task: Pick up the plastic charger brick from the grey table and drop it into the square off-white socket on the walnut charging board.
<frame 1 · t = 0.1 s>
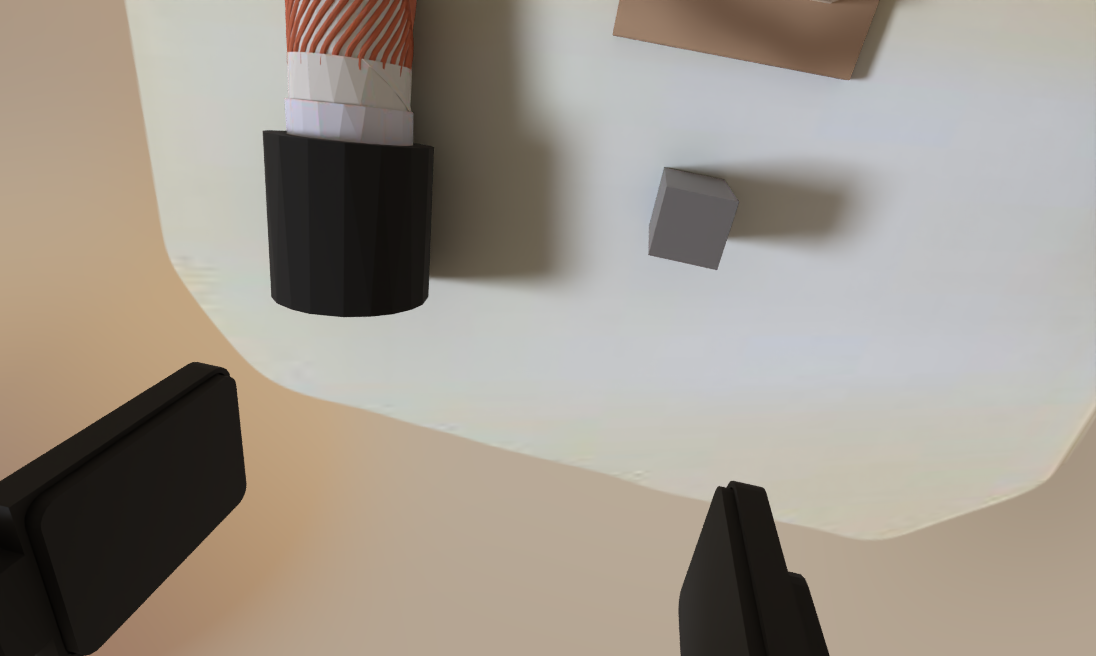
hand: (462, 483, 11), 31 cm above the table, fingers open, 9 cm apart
charger brick: (685, 203, 38), on the table
stepped striped telescope: (382, 26, 37), on the table
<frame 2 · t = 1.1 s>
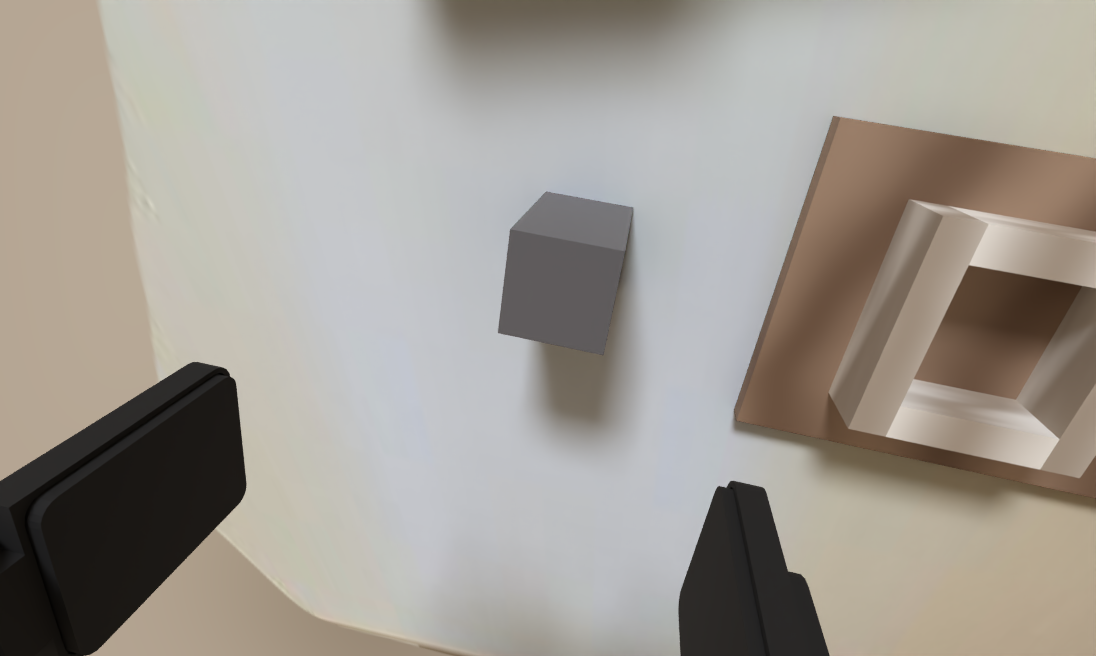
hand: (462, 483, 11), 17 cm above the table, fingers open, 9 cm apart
charger brick: (581, 242, 27), on the table
charging board: (1012, 324, 25), on the table
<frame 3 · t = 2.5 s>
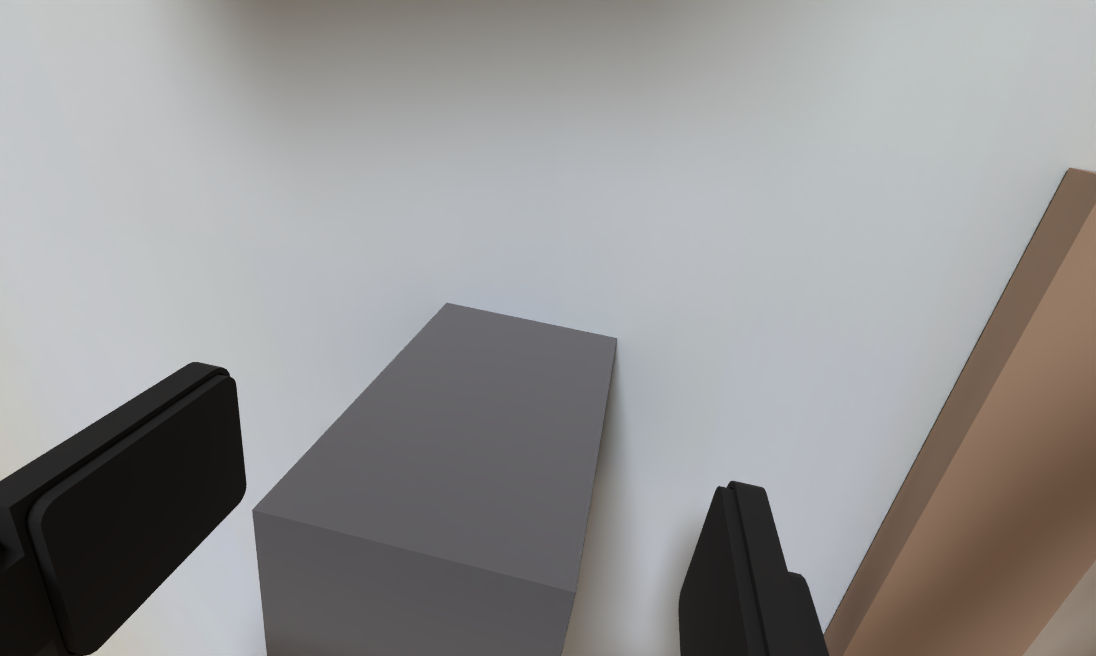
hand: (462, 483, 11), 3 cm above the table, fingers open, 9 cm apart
charger brick: (519, 394, 14), on the table
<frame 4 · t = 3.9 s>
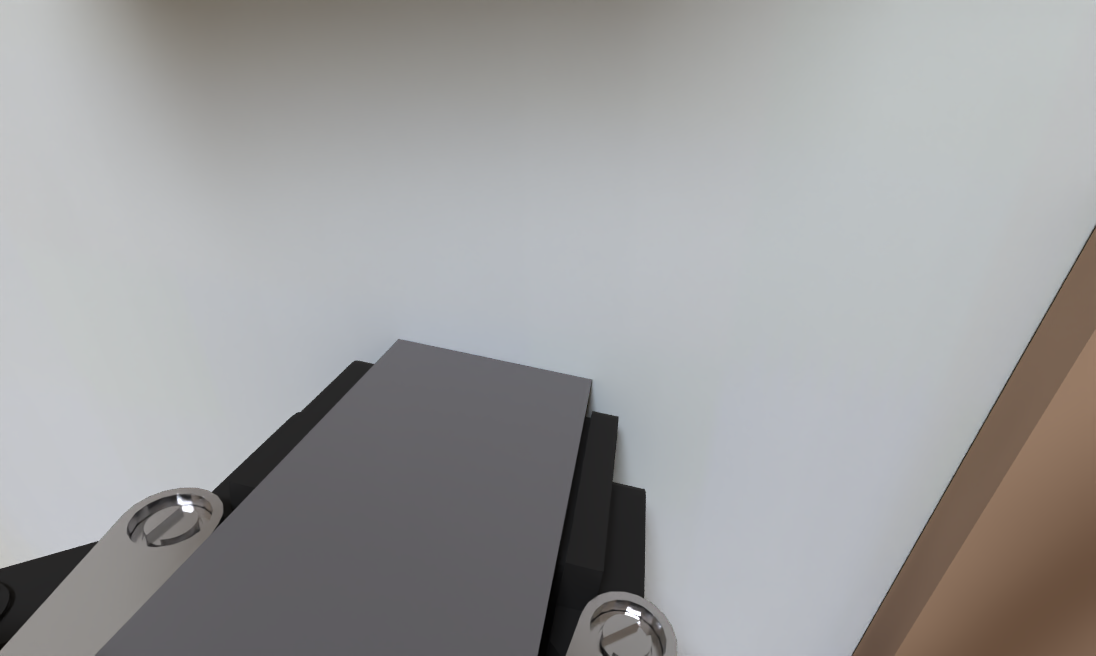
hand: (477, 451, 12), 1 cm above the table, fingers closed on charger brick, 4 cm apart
charger brick: (484, 440, 12), on the table, touching gripper
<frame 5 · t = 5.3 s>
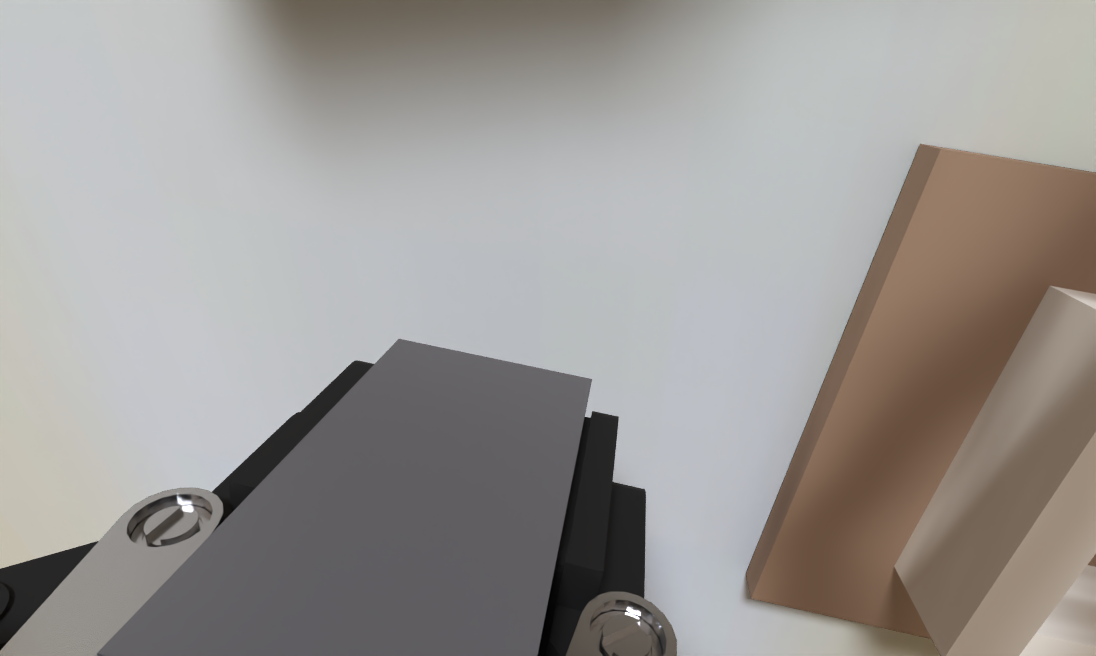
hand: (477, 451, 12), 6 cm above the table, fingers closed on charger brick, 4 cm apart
charger brick: (484, 439, 12), point 5 cm above the table, touching gripper
when the fingers open (5 cm above the table, at t = 11.6 s): charger brick drops 4 cm, resting on charging board.
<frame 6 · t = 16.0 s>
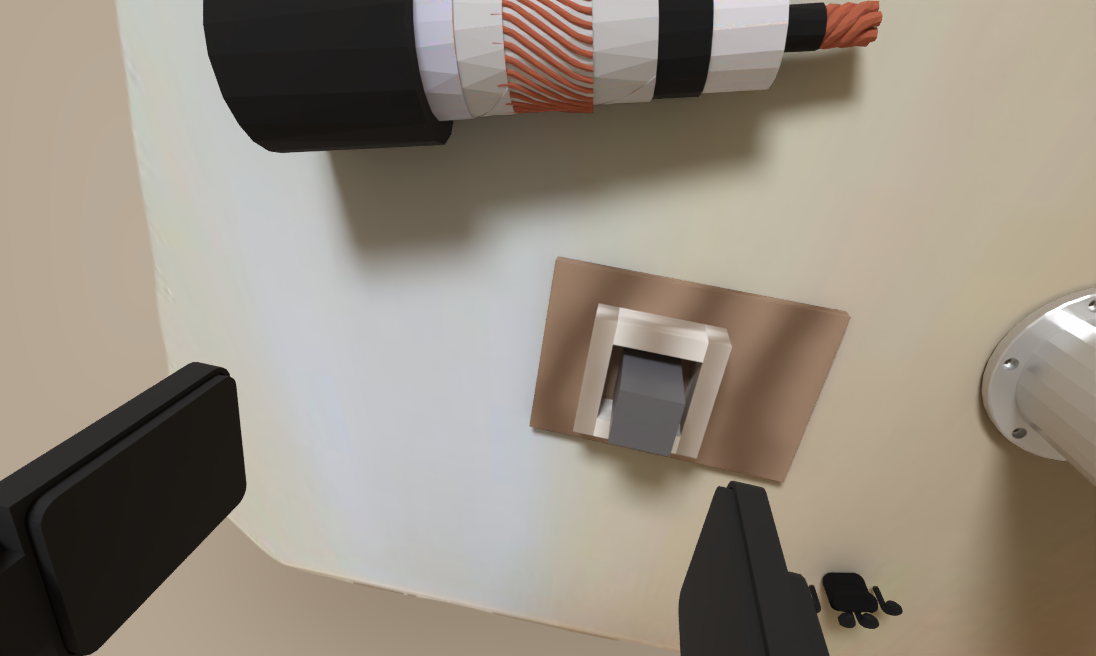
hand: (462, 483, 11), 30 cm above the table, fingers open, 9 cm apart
charger brick: (646, 371, 42), point 1 cm above the table, touching charging board
stepped striped telescope: (562, 47, 35), on the table
wireless earbuds: (840, 569, 48), on the table
charging board: (674, 370, 42), on the table
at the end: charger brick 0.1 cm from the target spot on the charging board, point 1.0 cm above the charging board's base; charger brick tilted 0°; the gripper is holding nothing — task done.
